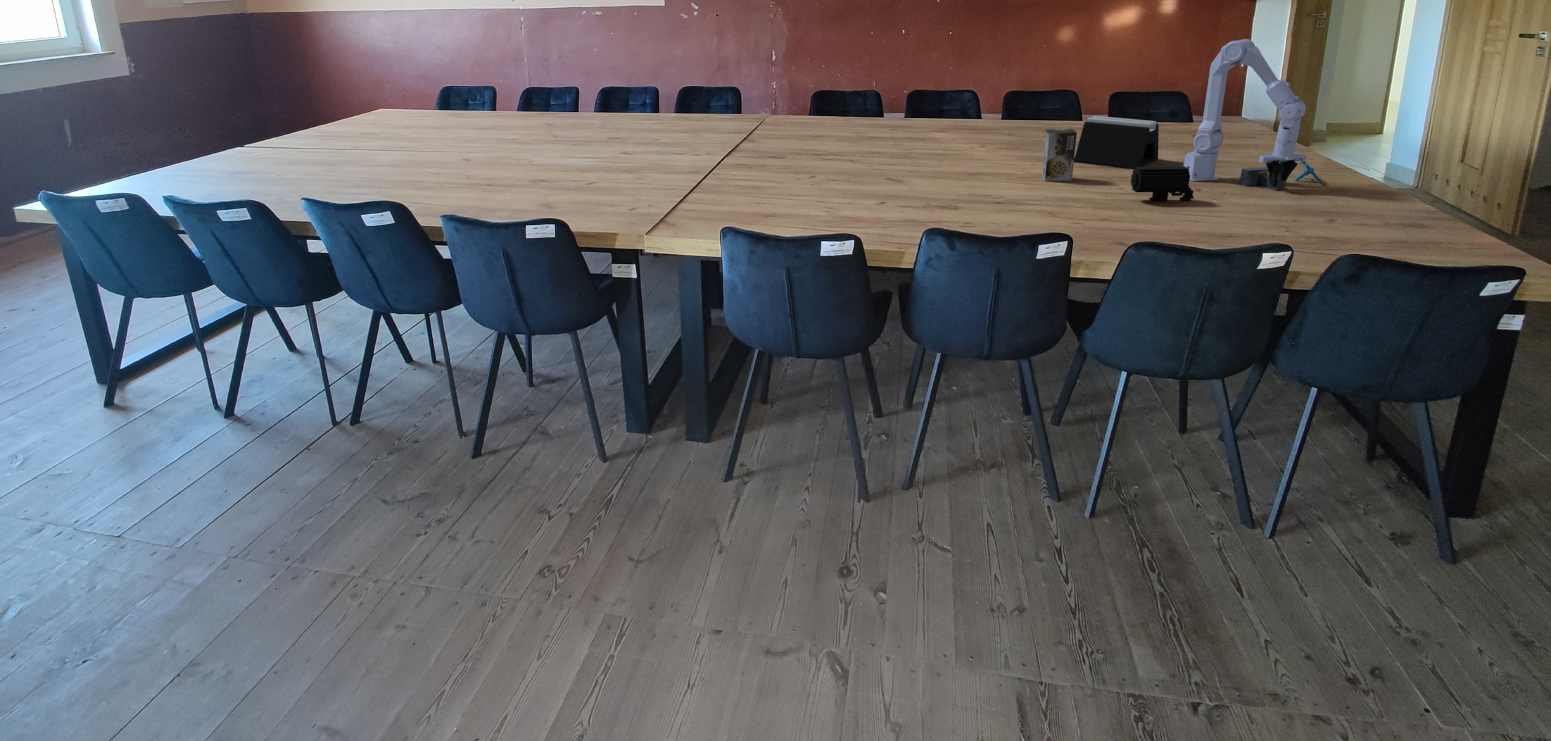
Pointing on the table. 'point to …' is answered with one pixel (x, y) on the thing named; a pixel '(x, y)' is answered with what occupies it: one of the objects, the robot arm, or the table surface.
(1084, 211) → the table surface
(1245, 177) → the housing
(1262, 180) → the plug
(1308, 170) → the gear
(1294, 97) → the robot arm
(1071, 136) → the coffee box
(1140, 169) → the security camera
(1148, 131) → the device stand
